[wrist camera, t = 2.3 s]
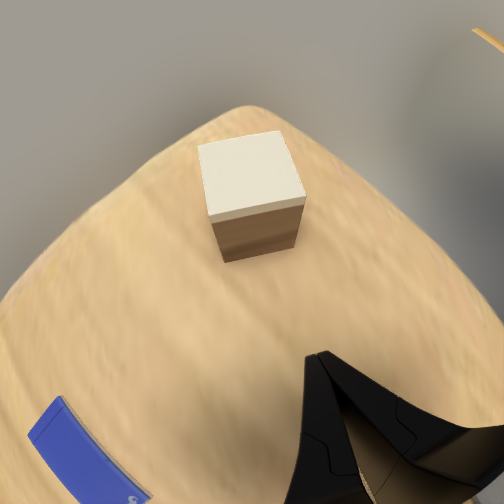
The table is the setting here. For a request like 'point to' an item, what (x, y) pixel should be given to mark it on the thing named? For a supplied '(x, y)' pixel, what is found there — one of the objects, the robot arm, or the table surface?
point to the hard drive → (82, 459)
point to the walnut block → (252, 194)
